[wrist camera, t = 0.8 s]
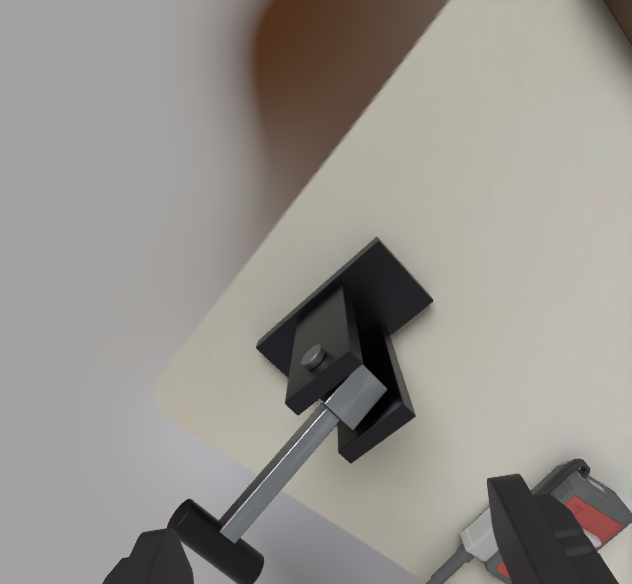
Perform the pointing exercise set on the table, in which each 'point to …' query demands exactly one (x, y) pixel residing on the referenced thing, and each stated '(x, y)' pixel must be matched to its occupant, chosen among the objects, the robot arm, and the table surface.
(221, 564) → the switch lever
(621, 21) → the button block
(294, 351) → the bracket
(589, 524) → the walkie-talkie
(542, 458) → the table surface
